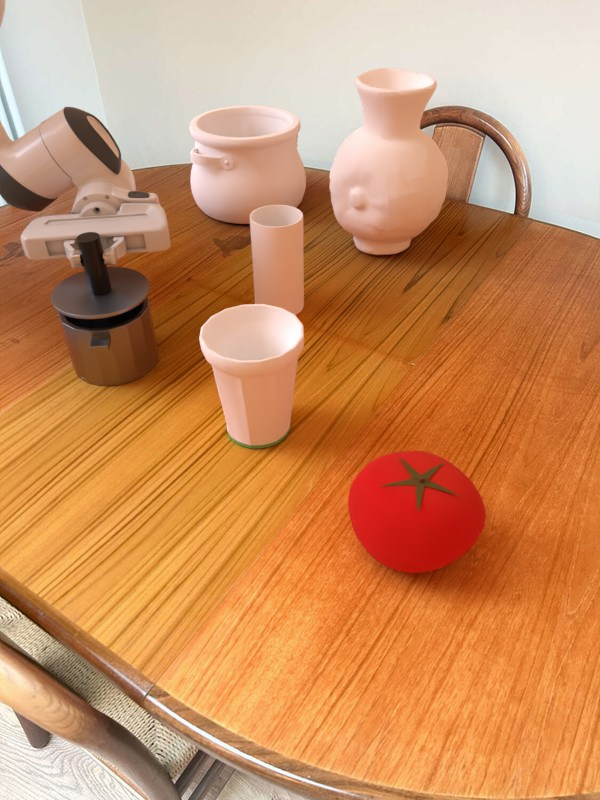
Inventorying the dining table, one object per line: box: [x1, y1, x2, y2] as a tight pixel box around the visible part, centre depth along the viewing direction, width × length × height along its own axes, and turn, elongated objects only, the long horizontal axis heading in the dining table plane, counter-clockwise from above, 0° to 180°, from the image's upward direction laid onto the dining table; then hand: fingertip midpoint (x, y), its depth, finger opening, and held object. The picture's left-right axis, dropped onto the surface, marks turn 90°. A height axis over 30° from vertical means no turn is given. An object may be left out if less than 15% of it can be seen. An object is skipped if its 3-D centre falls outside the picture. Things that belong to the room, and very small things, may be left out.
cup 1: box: [249, 205, 305, 316], centre depth 105 cm, size 8×8×16 cm
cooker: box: [57, 296, 159, 387], centre depth 96 cm, size 12×18×10 cm
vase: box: [328, 67, 450, 256], centre depth 117 cm, size 19×21×30 cm
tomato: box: [347, 450, 487, 574], centre depth 69 cm, size 14×13×10 cm
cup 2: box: [198, 303, 305, 449], centre depth 82 cm, size 12×12×15 cm
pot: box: [188, 104, 307, 225], centre depth 137 cm, size 26×24×18 cm
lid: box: [50, 232, 151, 319], centre depth 89 cm, size 13×13×9 cm
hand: (92, 261), depth 87 cm, fingers closed on lid, 3 cm apart
